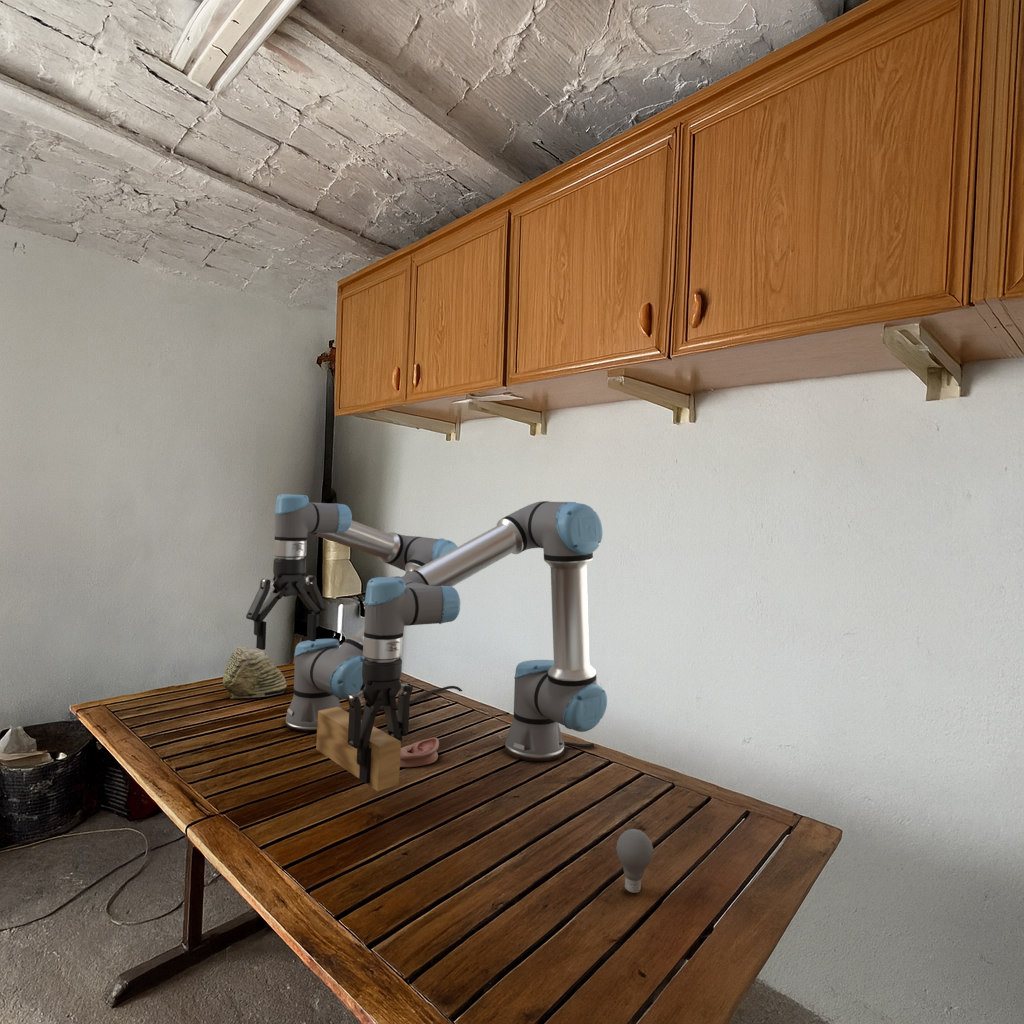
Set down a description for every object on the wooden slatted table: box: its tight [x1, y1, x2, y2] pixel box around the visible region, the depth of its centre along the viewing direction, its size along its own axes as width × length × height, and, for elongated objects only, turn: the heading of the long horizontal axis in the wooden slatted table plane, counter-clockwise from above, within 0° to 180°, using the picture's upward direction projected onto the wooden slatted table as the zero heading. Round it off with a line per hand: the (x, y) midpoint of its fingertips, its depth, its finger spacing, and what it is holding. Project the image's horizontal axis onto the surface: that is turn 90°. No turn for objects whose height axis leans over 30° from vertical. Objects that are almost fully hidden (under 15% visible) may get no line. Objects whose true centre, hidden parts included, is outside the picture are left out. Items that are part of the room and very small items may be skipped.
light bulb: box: [615, 828, 654, 894], centre depth 106 cm, size 6×6×10 cm
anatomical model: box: [400, 737, 440, 768], centre depth 155 cm, size 13×4×12 cm
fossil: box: [222, 646, 288, 699], centre depth 198 cm, size 9×18×15 cm, turn 132°
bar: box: [315, 707, 402, 792], centre depth 129 cm, size 25×5×8 cm, turn 44°
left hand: (286, 644), depth 154 cm, fingers open, 13 cm apart
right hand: (376, 776), depth 123 cm, fingers closed on bar, 5 cm apart
